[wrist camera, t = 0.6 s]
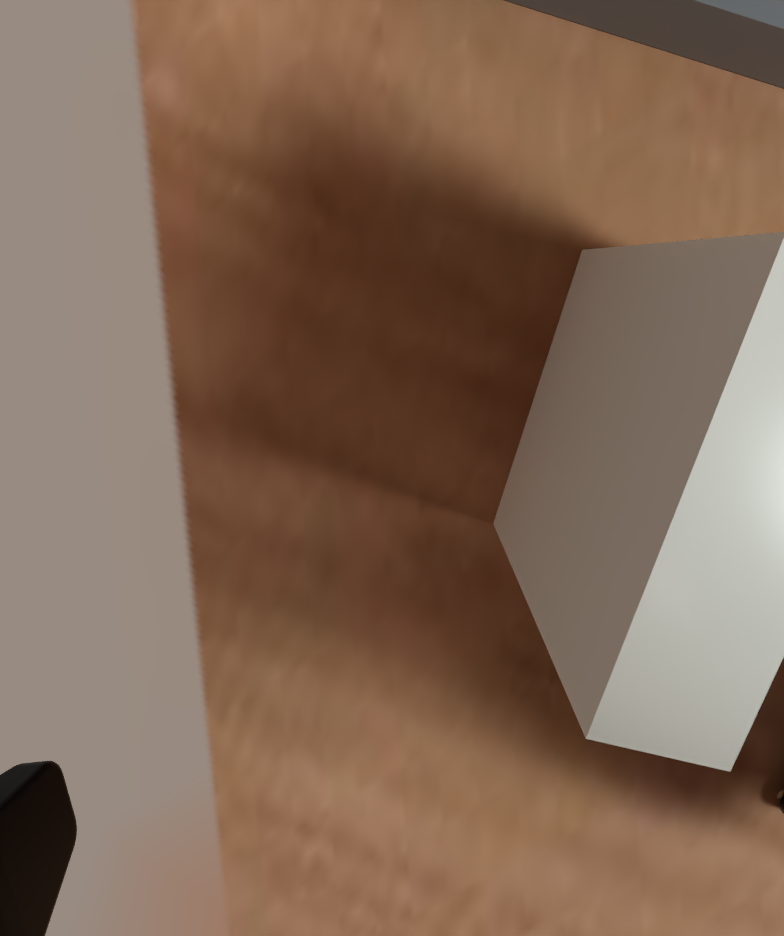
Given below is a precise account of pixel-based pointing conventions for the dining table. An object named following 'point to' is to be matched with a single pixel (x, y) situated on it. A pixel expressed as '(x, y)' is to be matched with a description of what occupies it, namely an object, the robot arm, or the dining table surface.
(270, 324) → the dining table surface
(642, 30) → the rack
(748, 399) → the white rectangular block
